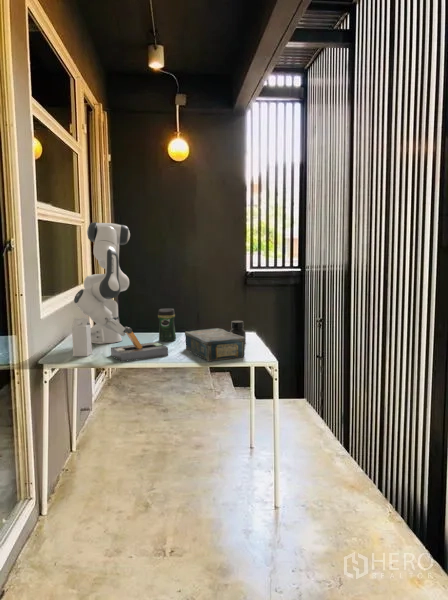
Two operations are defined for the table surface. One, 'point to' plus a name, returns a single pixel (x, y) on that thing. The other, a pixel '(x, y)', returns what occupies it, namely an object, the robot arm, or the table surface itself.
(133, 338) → the lever
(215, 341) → the metal box
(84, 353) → the milk carton
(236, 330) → the ink bottle
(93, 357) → the table surface
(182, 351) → the table surface
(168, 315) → the coffee jar
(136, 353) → the breaker box
